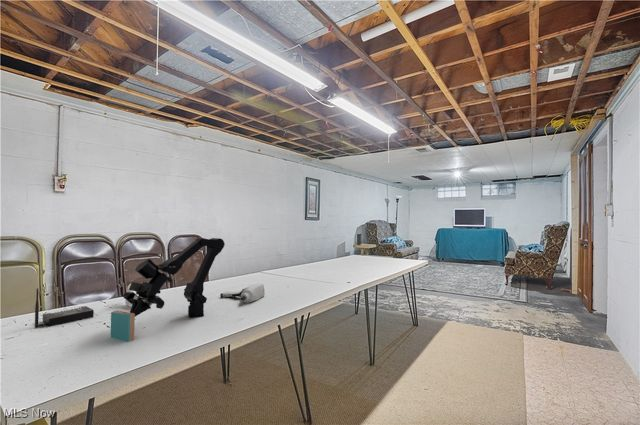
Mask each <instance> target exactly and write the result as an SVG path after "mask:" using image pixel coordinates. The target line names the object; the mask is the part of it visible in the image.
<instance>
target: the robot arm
mask: <svg viewBox="0 0 640 425" xmlns="http://www.w3.org/2000/svg"><path fill="white" fill-rule="evenodd" d="M225 244H226V243H225V241H224V239H223V238H220V237H219V238H216V237H211V238H210V239H209V238H204V237H198V238H196V239H195V240H194V241H193V242H191V244H189V245H188V246H186V248H184V249H183V250H181V251H180V252H179V253H178V254H177V255H174V256H172V257H170V258H167V259H166V260H164V261H163V262H162V263H160V264H156V263H155V262H153V260H152V259H150V258H146V259H145V260H144V261H142V262H141V263H139V264H137V266H136V267H135V269H134V270H135V272H137V273H138V275H140V276H141V277H142V278H144V279H145V280H149V281H148V282H147V281H146V282H145V281H143V282H142V283H141V282H140V283H139V282H131V283H130V284H131V285H130V284H129V285H130V288H129V290H132V291H136V294H138V295H139V296H137V295H136V294H135V293H134V292H127V291H126V292H124V293H123V295H122V298H123V299H125V300H127V301H128V302H129V303H131V304H132V307H130V311H129V313H135V317H137V316H140V314H142V313H143V312H146V311H148V310H151V308H152V305H154V304H155V307H156V309H163V308H164V307H165V301H164V299H162V298H161V297H160V296H159V294H161V292H162V291H161V289H162V288H163V286H164V285H165V284H166V283H172V277H171V276H172V275H175V274H177V273H178V272H179V271H180V270H181V268H182V267H183V265H184V263H186V261H187V260H189V259H190V258H191V257H192V256H193V255H195V254H196V253H198V251H199V250H201V249H202V248H203V247H206V250H205V251H206V253H205V255H204V257H203V259H202V262H201V263H200V265H199V268H198V271H197V272H196V275H195V276H194V279H193V280H192V281H191V282H187V283H186V284H185V285H186V286H185V287H184V289H183V291H184V292H183V296H184V298H185V299H186V302H188V303H189V305H188V306H187V307H188V308H187V315H188V317H189V318H190V319H191V318H198V317H204V316H205V314H204V309H205V308H204V306H205V304H206V303H207V300H208V298H207V297H206V296H205V295H204V294H203V293H204V283H205V281H206V279H207V276H208V274H209V272H210V270H211V268H212V266H213V263H214V261H215V260H216V257H217V256H218V255H219V254H221V252H222V250H223V249H224V248H225ZM166 274H167V275H166ZM168 275H169V276H168ZM157 294H158V295H157Z"/></svg>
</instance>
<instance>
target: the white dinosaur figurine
mask: <svg viewBox="0 0 640 425" xmlns="http://www.w3.org/2000/svg"><path fill="white" fill-rule="evenodd" d="M130 285H131V283H129V285H128V286H127V288H126V292H134V293H135V294H136V291H132V290H129V288H130ZM136 295H137V296H139V295H138V294H136ZM124 303H125V305H126V306H127V307H129V308H132V304H131V303H129V302H128V301H127V300H126V299H125V302H124Z"/></svg>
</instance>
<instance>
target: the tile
mask: <svg viewBox="0 0 640 425" xmlns="http://www.w3.org/2000/svg"><path fill="white" fill-rule="evenodd" d="M135 320H136V319H135V313H130V311H122V310H115V311H114V310H113V311H111V312H110V338H111V339H114V340H117V341H118V340H119V341H122V342H127V343H130V342H132V341H134V340H135Z"/></svg>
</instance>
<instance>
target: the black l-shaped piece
mask: <svg viewBox="0 0 640 425" xmlns="http://www.w3.org/2000/svg"><path fill="white" fill-rule="evenodd" d="M35 295H36V297H35V298H36V300H35V307H34V329H38V328H43V327H56V326H59V325H65V324H69V323H73V322H78V321H83V320H87V319H92V318H94V315H95V314H94V309H93V308H90V307H88V306H86V305H85V306H84V305H83V306H81V307H78V308H71V309H68V310H63V311H62V310H61V311H57V312H48V313H47V312H46V313H43V314H42V323H39V315H40V314H39V310H40V308H39V306H40V305H39V304H40V303H39V288H36V294H35Z"/></svg>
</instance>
